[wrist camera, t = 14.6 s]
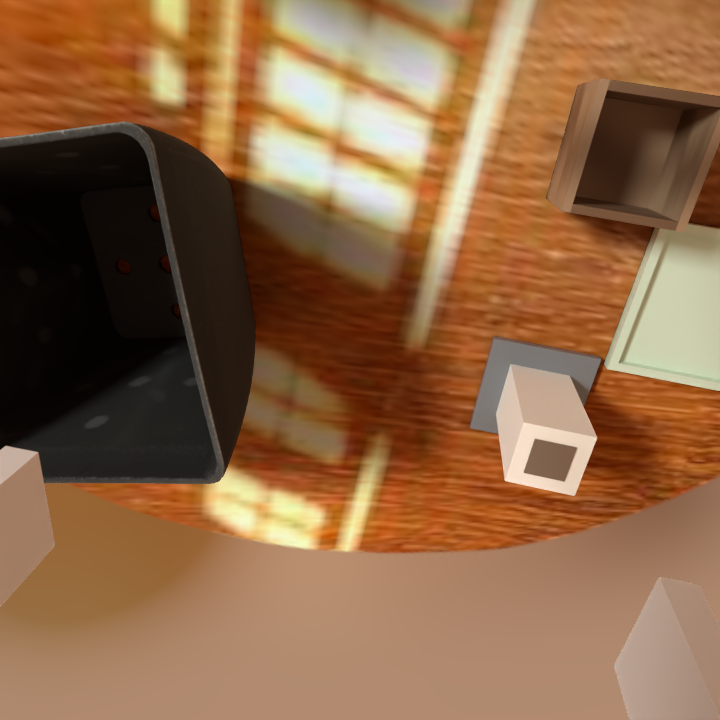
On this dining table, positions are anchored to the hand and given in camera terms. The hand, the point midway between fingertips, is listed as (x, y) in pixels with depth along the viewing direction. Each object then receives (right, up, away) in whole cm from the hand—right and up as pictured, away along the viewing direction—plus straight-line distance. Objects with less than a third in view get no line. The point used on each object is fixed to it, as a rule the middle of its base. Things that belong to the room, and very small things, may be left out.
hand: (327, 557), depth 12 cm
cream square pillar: (+14, +1, +31) cm, 34 cm away
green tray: (+25, +8, +27) cm, 38 cm away
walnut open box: (+17, +18, +24) cm, 34 cm away
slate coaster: (+14, +2, +31) cm, 35 cm away
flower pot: (-14, +12, +32) cm, 37 cm away
